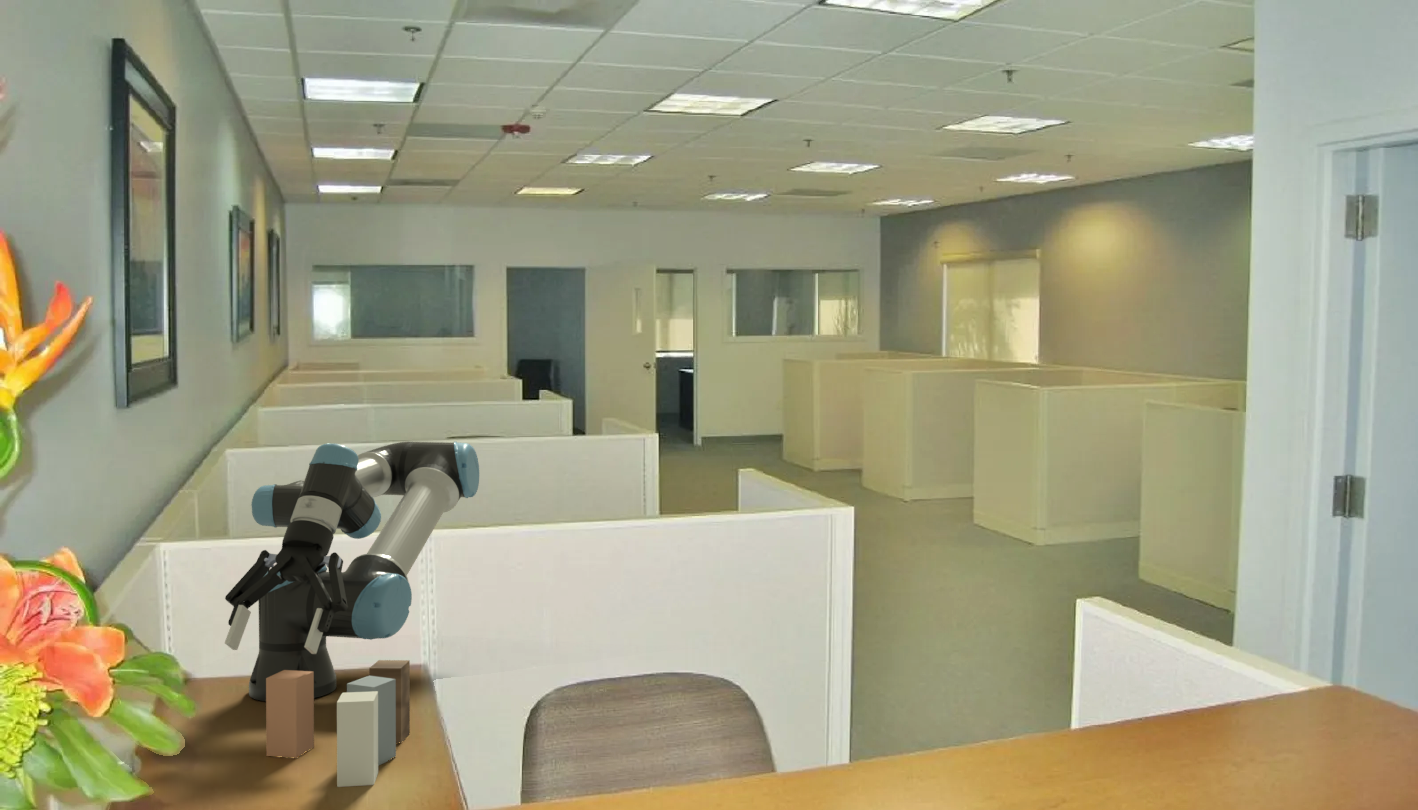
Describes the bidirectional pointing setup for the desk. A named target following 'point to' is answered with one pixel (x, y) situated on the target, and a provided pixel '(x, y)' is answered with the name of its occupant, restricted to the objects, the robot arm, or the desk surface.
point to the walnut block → (397, 691)
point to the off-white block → (357, 738)
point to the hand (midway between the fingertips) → (270, 648)
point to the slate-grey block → (381, 712)
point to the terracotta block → (289, 713)
